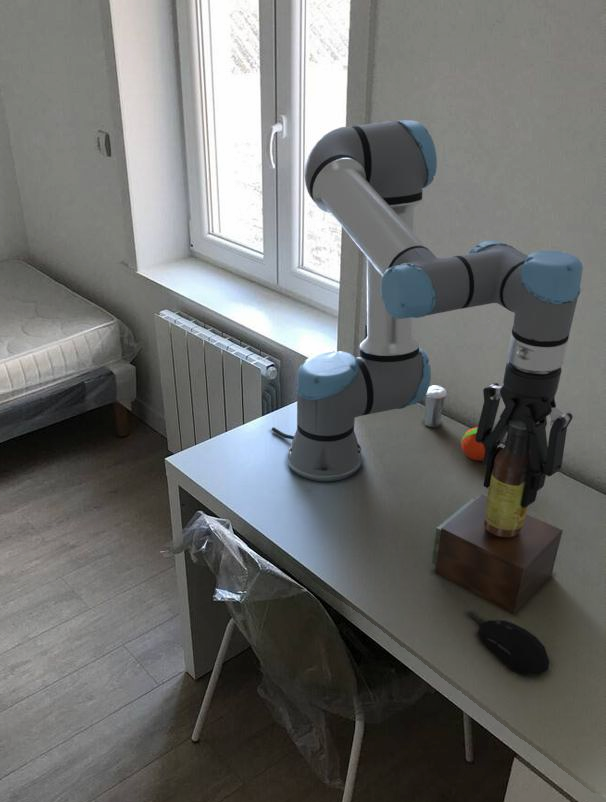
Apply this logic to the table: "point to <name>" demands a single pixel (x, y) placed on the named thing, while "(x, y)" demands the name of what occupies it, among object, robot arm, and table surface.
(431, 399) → the salt shaker
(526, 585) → the cabinet
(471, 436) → the clementine
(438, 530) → the drawer
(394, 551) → the table surface
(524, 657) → the gaming mouse
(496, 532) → the sauce bottle
